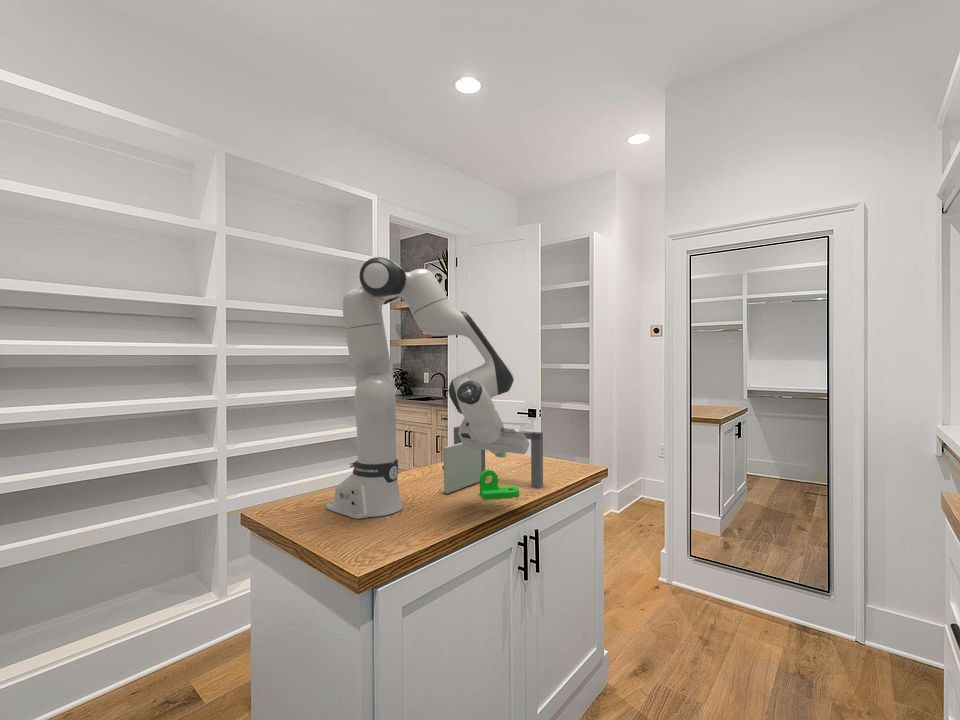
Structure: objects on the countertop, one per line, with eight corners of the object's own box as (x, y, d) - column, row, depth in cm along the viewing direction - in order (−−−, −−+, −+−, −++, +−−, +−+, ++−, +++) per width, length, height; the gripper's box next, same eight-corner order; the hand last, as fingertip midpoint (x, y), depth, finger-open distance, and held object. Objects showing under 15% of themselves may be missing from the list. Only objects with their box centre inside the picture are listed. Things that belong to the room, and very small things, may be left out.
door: (474, 479, 167) (474, 438, 167) (481, 480, 166) (481, 439, 165) (440, 491, 153) (439, 446, 153) (447, 493, 151) (446, 447, 151)
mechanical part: (483, 500, 146) (483, 474, 146) (479, 494, 152) (479, 469, 152) (521, 498, 148) (521, 472, 148) (516, 492, 154) (516, 467, 154)
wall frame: (454, 477, 172) (453, 427, 172) (458, 475, 175) (457, 426, 174) (540, 488, 157) (539, 433, 157) (543, 486, 160) (542, 432, 160)
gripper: (524, 421, 132) (536, 450, 141) (460, 416, 142) (475, 443, 151) (518, 440, 129) (531, 468, 137) (452, 433, 138) (468, 460, 147)
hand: (501, 455), depth 144 cm, fingers closed
